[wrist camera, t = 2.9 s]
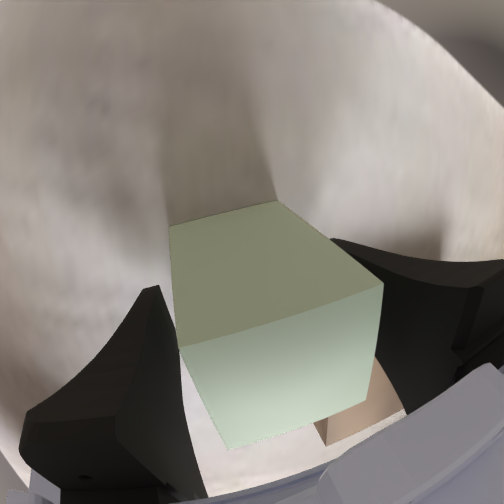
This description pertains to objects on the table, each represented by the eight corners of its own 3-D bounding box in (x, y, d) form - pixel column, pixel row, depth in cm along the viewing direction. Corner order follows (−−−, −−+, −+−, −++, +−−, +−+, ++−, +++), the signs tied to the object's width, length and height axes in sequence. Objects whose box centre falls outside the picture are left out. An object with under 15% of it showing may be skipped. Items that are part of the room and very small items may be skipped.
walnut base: (309, 415, 20) (325, 446, 17) (305, 315, 15) (331, 352, 13) (415, 365, 21) (436, 388, 19) (440, 263, 17) (472, 284, 14)
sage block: (196, 316, 14) (227, 449, 7) (168, 226, 12) (178, 348, 5) (288, 290, 14) (365, 400, 8) (277, 200, 12) (383, 282, 6)
